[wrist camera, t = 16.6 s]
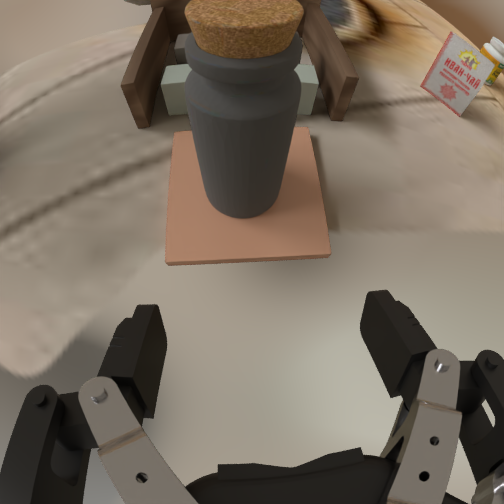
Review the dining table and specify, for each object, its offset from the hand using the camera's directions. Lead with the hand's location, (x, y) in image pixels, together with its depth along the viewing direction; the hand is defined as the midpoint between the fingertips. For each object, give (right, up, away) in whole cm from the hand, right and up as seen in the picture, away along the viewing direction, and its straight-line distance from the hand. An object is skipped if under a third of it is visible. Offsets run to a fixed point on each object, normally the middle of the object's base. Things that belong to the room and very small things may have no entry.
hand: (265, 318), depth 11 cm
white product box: (+26, +24, +19) cm, 40 cm away
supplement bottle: (+42, +35, +23) cm, 60 cm away
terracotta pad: (-1, +7, +13) cm, 15 cm away
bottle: (-1, +8, +12) cm, 14 cm away
